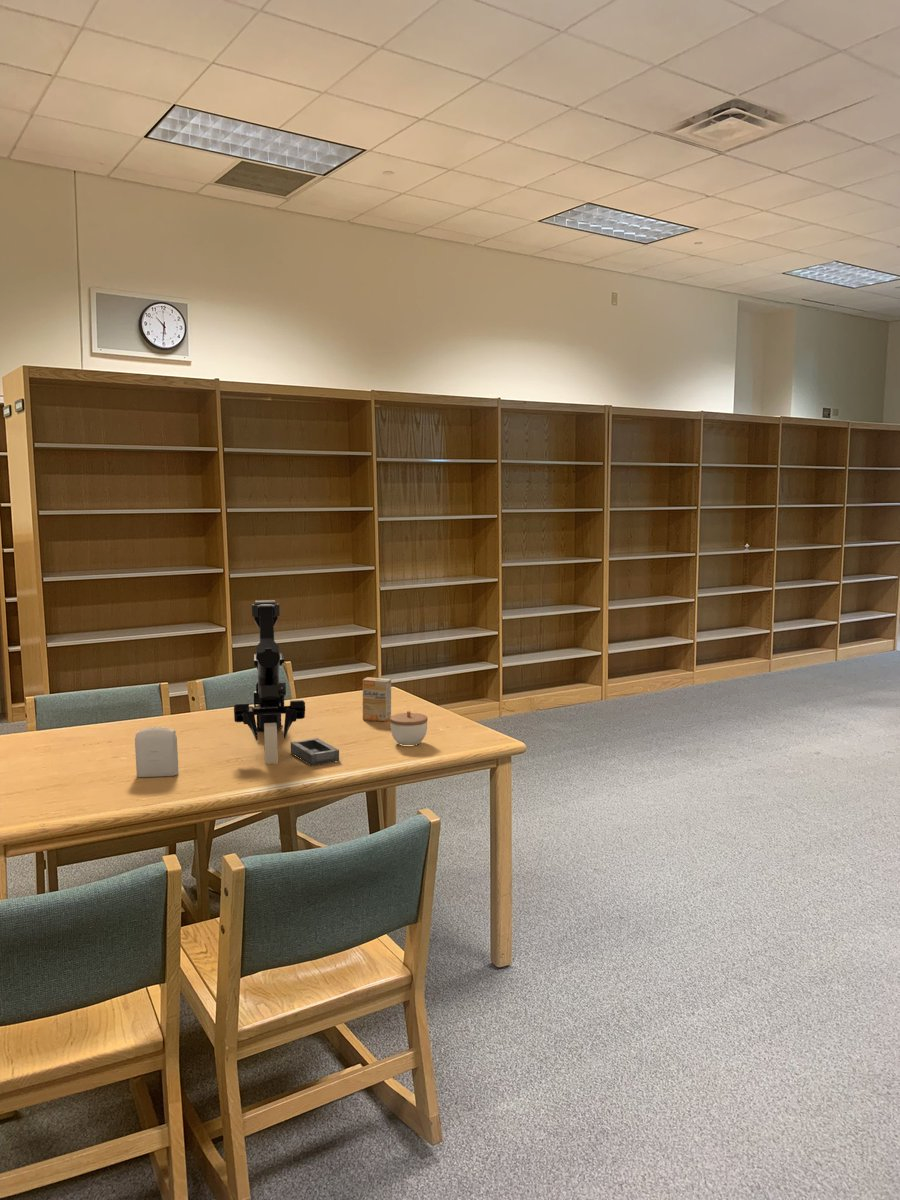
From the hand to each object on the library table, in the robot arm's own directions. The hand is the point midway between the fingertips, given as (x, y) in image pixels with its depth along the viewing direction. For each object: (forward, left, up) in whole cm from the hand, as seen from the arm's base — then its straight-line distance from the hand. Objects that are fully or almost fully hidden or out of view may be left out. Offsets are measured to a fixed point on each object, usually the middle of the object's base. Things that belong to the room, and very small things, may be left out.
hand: (270, 738), depth 229 cm
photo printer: (-22, -18, -7) cm, 29 cm away
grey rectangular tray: (+9, +8, -7) cm, 14 cm away
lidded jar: (+29, +28, -7) cm, 41 cm away
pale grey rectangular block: (-1, +1, -7) cm, 7 cm away
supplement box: (+10, +51, -7) cm, 53 cm away
